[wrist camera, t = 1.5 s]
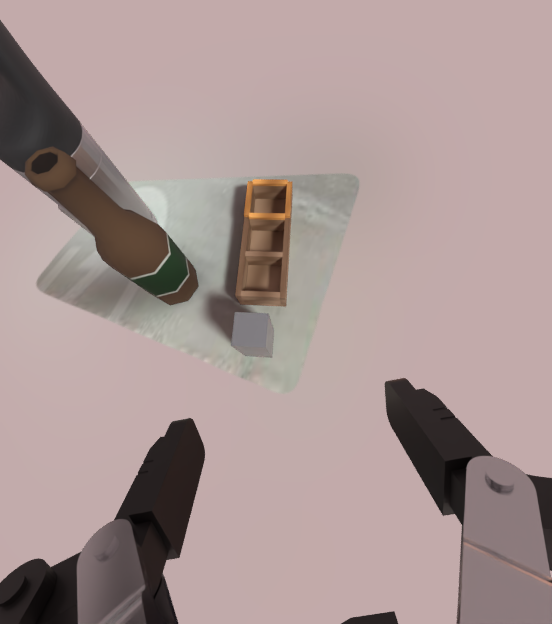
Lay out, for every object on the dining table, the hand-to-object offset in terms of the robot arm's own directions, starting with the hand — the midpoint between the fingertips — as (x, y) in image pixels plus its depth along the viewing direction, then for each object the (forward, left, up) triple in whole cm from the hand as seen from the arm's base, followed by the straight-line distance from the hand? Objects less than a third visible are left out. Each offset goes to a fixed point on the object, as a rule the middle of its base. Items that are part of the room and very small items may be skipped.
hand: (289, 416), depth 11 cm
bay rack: (-5, +23, -27) cm, 36 cm away
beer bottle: (-20, +16, -27) cm, 37 cm away
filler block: (-5, +7, -27) cm, 28 cm away
